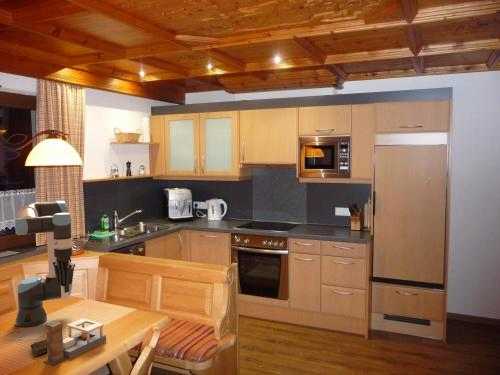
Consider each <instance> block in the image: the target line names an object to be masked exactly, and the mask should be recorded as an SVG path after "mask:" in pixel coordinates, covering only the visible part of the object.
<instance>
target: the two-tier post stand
mask: <svg viewBox="0 0 500 375" xmlns="http://www.w3.org/2000/svg"><path fill="white" fill-rule="evenodd" d="M85 324H90V325H89V326H85ZM104 326H105V325H104V323H100V322H97V321H93V320H91V319H87V318H81V319H77V320H75V321H73V322H70V323H68V324H66V328H68V337H71V338H74V339H75V345H74V346H72V347H70V348H67V349H64V348H63V356H64V357H67V358H68V359H72V358H75V357H77V356H79V355H81V354H82V353H85V352H87V351H89V350H90V349H93V348H95V347H97V346H99V345H101V344H102V343H103V344H104V343H106V342H107V335H106V334H104V333H103V332H104V331H103V327H104ZM98 329H99V332H97V331H96V330H98ZM72 330H76V331H79V332H77V333H75V334H73V335H72ZM81 332H86V333H87V340H85V341H83V340H82V333H81ZM89 333H90V335H89Z"/></svg>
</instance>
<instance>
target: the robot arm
mask: <svg viewBox="0 0 500 375" xmlns="http://www.w3.org/2000/svg"><path fill="white" fill-rule="evenodd" d="M68 208H69V207H68V205H67V203H66V201H64V200H47V201H33V202H31V203H27V204H25V205H23V206H22V207H21V208H19V210H18V211H17V214H16V216H17V218H15V220H14V229H15V230H14V231H15V234H16V235H17V236H22V235H23V236H26V235H32V234H45V233H46V242H47V243H46V244H47V261H48V263H47V264H48V273H47V274H46V275H45V278H42V277H41V276H34V277H33V276H32V277H29V278H25V279H23V280H21V281H20V282H19V283H17V291H16V292H17V303H18V306H17V307H18V311H17V313H16V317H15V321H14V322H15V326H16V327H19V328H29V327H35V326H36V327H37V326H39V325H41V324H42V325H43V324H44V323H45V322H46V321H47V320H48V314H47V312H46V310H45V308H44V303H43V302H44V301H45V302H46V301H47V302H48V301H51V300H52V301H53V300H58V299H61V300H62V301H66V300H69V299H70V296H71V293H72V288H73V280H74V279H73V278H74V272H75V271H74V270H75V268H76V263H72V258H71V257H72V256H73V248H72V247H73V238H72V237H73V236H72V216H71V213H70V212H69V209H68Z"/></svg>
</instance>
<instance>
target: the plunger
mask: <svg viewBox="0 0 500 375" xmlns="http://www.w3.org/2000/svg"><path fill="white" fill-rule="evenodd" d="M80 332H81V333H82V340H83V341H85V340H87V333H86V332H82V331H80ZM89 335H90V333H89Z"/></svg>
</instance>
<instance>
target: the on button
mask: <svg viewBox="0 0 500 375" xmlns="http://www.w3.org/2000/svg"><path fill="white" fill-rule="evenodd" d="M74 345H75V339H74V338H71V337H69V336H67V337H65V338H63V348H64V349H68V348H70V347H72V346H74Z"/></svg>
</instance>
